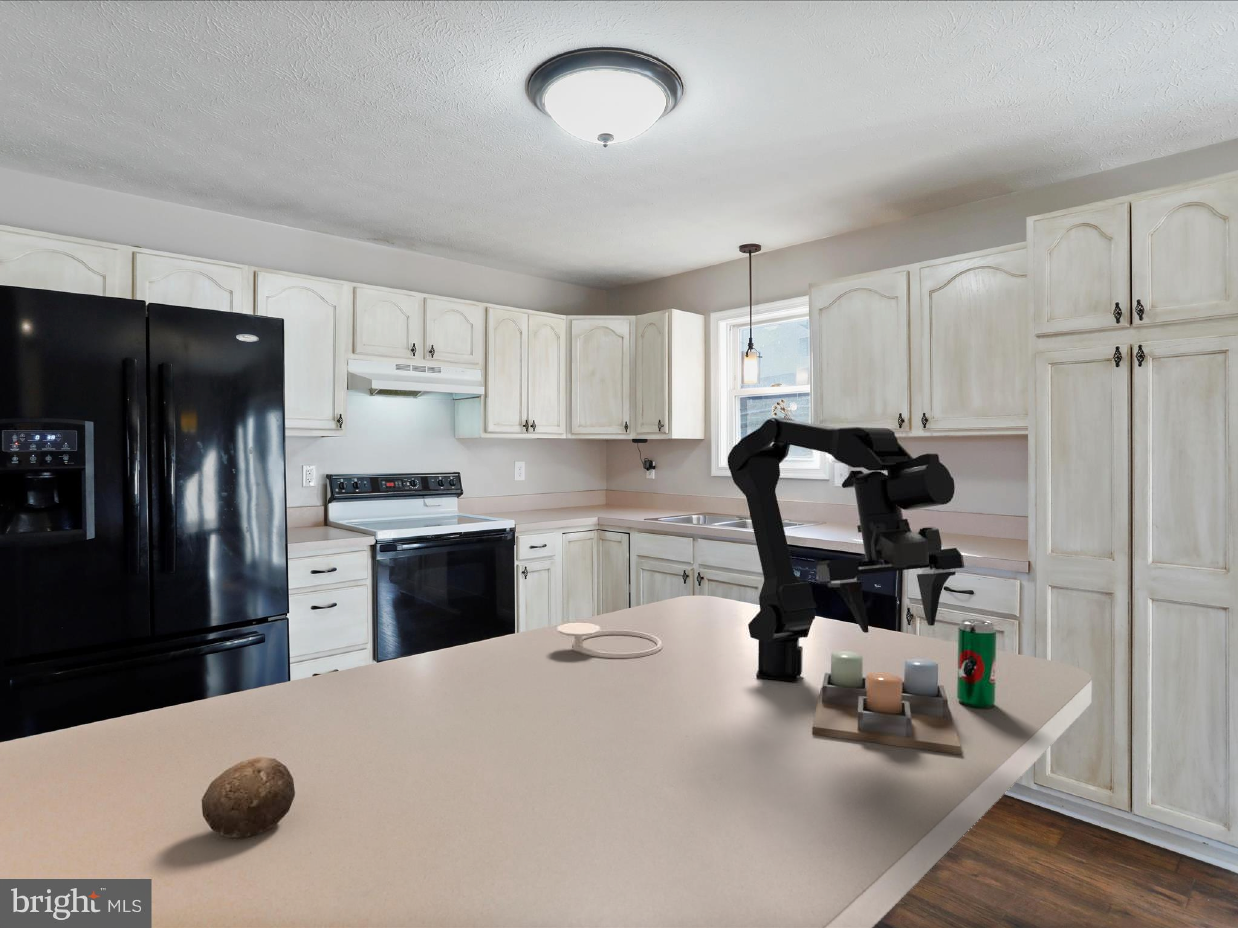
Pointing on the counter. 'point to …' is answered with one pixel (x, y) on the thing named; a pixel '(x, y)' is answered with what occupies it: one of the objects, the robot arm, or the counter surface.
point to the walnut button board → (886, 719)
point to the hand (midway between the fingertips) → (898, 628)
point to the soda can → (976, 663)
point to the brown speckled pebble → (248, 797)
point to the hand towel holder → (591, 630)
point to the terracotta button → (884, 693)
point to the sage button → (846, 669)
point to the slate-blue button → (921, 677)
